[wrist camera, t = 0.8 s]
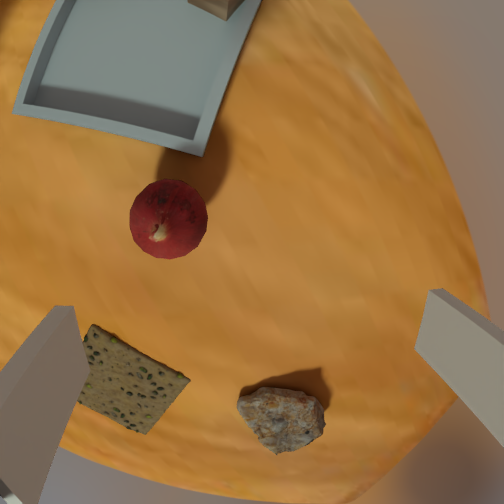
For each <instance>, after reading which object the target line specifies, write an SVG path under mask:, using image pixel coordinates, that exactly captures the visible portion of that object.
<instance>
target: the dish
mask: <svg viewBox="0 0 504 504" xmlns="http://www.w3.org/2000/svg"><path fill="white" fill-rule="evenodd" d="M261 1H262V0H245V1H244V2H243V3H242V4H241V5H240V6H239V7H238V9H237V10H236V11H235V12H234V13H233V14H232V15H231V17H230V18H229V19H228V20H227V21H224V20H222V19H220V18H218V17H216V16H214V15H212V14H210V13H208V12H206V11H204V10H202V9H200V8H198V7H196V6H194V5H192V4H189V3H188V2H187V0H56V2H55V4H54V6H53V8H52V10H51V12H50V14H49V16H48V18H47V20H46V22H45V24H44V26H43V29H42V31H41V33H40V35H39V38H38V40H37V42H36V45H35V47H34V49H33V52H32V54H31V57H30V60H29V62H28V65H27V68H26V70H25V73H24V76H23V79H22V82H21V85H20V88H19V91H18V94H17V98H16V101H15V104H14V108H13V111H12V114H17V115H23V116H29V117H35V118H40V119H46V120H51V121H56V122H61V123H66V124H71V125H76V126H81V127H86V128H90V129H95V130H99V131H104V132H108V133H112V134H117V135H121V136H125V137H129V138H133V139H137V140H141V141H145V142H149V143H153V144H157V145H161V146H164V147H168V148H172V149H175V150H179V151H183V152H186V153H190V154H193V155H197V156H200V157H203V156H204V153H205V150H206V147H207V143H208V140H209V137H210V134H211V131H212V129H213V126H214V123H215V120H216V117H217V114H218V111H219V108H220V105H221V103H222V100H223V97H224V94H225V92H226V89H227V86H228V83H229V81H230V78H231V75H232V73H233V70H234V67H235V65H236V62H237V60H238V57H239V55H240V52H241V49H242V47H243V44H244V42H245V39H246V37H247V35H248V32H249V30H250V27H251V25H252V22H253V20H254V18H255V15H256V13H257V11H258V8H259V6H260V4H261Z"/></svg>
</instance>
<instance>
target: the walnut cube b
mask: <svg viewBox="0 0 504 504" xmlns="http://www.w3.org/2000/svg"><path fill="white" fill-rule="evenodd" d="M244 1H245V0H187V2H188V3H189V4H192V5H194V6H196V7H198V8H200V9H202V10H204V11H206V12H208V13H210V14H212V15H214V16H216V17H218V18H220V19H222V20H224V21H227V20H228V19H229V18H230V17H231V15H232V14H233V13H234V12H235V11H236V10H237V9H238V7H239V6H240V5H241V4H242V3H243V2H244Z"/></svg>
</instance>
